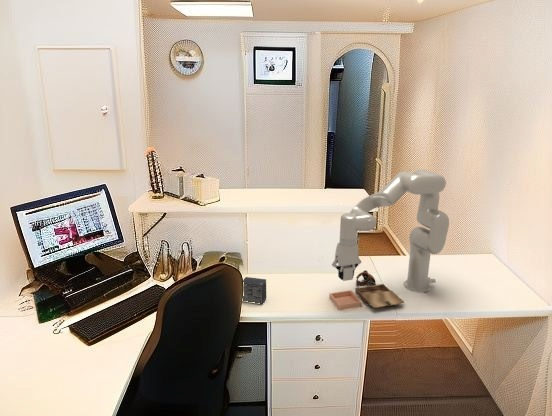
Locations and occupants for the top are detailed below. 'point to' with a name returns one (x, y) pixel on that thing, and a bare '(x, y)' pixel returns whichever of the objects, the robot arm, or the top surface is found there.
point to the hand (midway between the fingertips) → (345, 277)
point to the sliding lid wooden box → (378, 296)
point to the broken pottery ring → (365, 279)
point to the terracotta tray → (345, 300)
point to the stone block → (347, 273)
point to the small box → (254, 290)
